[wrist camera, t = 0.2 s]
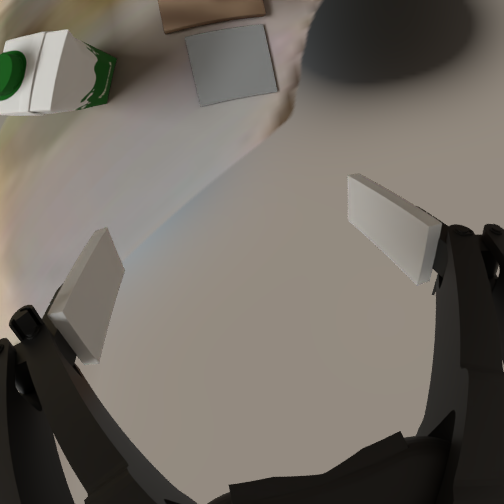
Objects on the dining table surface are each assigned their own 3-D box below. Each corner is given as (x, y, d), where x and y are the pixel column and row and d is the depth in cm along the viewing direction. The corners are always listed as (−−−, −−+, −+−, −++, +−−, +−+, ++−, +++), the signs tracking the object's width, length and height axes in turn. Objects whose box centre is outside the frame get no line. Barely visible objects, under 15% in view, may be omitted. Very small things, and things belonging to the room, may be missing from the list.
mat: (184, 38, 29) (184, 37, 28) (262, 25, 30) (262, 24, 29) (200, 106, 35) (200, 106, 34) (276, 91, 35) (277, 91, 35)
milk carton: (71, 54, 26) (-8, 34, 9) (125, 53, 28) (68, 16, 11) (60, 108, 29) (-25, 124, 12) (112, 110, 32) (44, 119, 15)
